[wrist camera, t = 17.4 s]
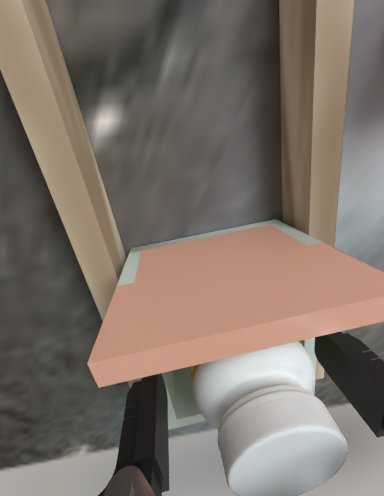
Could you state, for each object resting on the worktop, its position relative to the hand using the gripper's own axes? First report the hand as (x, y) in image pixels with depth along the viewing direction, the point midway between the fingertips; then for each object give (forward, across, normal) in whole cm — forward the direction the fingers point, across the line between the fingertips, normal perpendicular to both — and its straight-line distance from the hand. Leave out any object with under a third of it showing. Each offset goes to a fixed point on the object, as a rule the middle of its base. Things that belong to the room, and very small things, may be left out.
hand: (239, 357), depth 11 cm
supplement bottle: (+5, 0, 0) cm, 5 cm away
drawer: (+6, 0, +1) cm, 6 cm away
